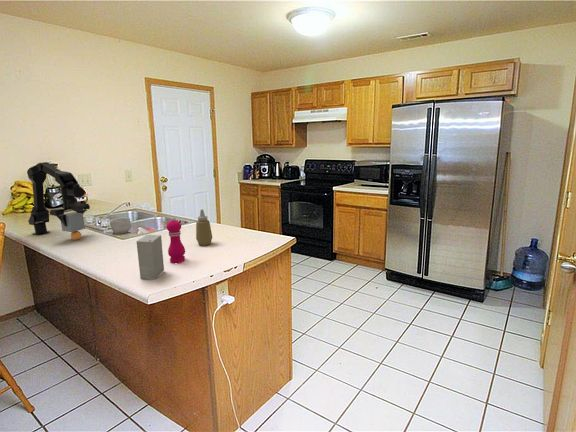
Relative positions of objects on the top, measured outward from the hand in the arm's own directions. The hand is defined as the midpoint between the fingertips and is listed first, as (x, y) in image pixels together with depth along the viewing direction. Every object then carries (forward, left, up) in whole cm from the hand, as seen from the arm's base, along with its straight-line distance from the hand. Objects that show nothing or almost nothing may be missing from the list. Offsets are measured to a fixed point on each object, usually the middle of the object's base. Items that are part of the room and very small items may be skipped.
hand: (73, 224), depth 186 cm
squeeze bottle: (+74, +18, -9) cm, 77 cm away
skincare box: (+80, -22, -9) cm, 84 cm away
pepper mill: (+78, -6, -9) cm, 79 cm away
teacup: (+12, +21, -9) cm, 26 cm away
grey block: (0, 0, -3) cm, 3 cm away
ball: (+1, 0, -6) cm, 6 cm away
